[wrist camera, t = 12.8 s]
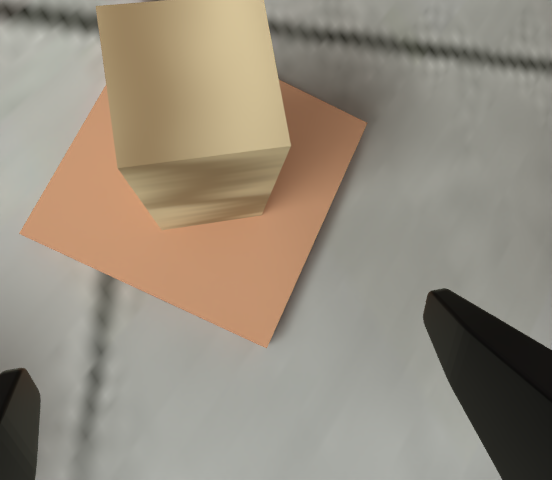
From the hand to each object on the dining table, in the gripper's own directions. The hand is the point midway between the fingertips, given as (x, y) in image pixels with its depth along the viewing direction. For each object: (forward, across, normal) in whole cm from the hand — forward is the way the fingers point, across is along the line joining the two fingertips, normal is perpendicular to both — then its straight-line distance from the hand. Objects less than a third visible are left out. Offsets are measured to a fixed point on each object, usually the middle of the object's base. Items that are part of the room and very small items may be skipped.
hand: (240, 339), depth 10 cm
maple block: (+14, 0, +3) cm, 15 cm away
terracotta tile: (+15, 0, +4) cm, 16 cm away
